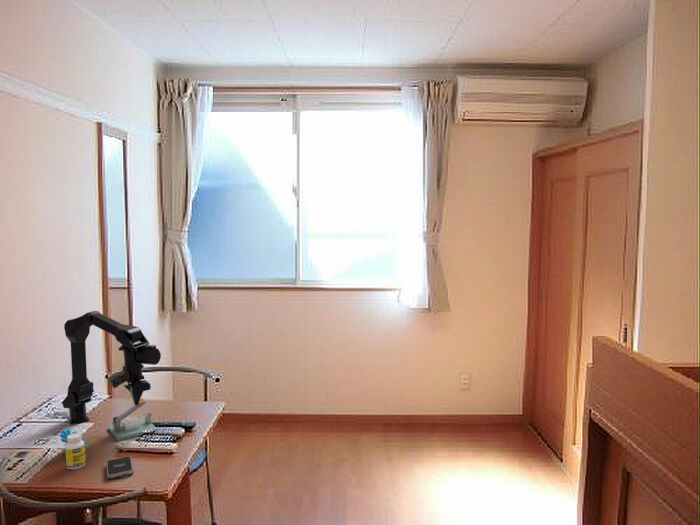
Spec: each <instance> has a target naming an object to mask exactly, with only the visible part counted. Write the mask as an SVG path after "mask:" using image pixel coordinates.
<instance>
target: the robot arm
mask: <svg viewBox="0 0 700 525" xmlns="http://www.w3.org/2000/svg"><path fill="white" fill-rule="evenodd" d="M92 326H94V327H96V328H98V329H100V330H102V331H104V332H106V333H108V334H110V335H113V337H114V338H115V340H116V341H117V343H120V344H121V346H120V347H118V351H121V352H122V351H123V361H124V365H123V366H122V370H119V371H118V372H115V373H114V374H112V375H111V376H110V375H109V377H107V379H108V382H109V383H110V386H111V387H112V388H113V389H116V388H118V387H119V386H121V385H123V384H124V383H126V384H125V385H123V386H124V388H125V389H127V391H129V393H130V396H131V398H132V402H133V404H134V405H133V406H135V405H138V403H139V402H140V399H141V398H142V395H143V393H144V392H145V391H150V390H151V383H150V382H148V381H147V379H145V376H144V375H143V368H144V365H154V366H155V365H158V364H159V363H160V361H161V357H162V353H161V351H160V349H158V348H157V345H156V344H150V342H149V340H148V339H147V337H146V336H145V334H144V333H143V331H142V328H140V327H139V326H137V325H136V326H135V325H131V324H123V323H120V322H119V321H117V320H114V319H113V318H110V317H108V316H107V315H104V314H102V313H101V312H100V311H98V310H93V311H89V312H86V313H84V314H82V315H80V316H78V317H75V318H71V319H68V320H67V321H65V323H64V327H63V328H64V333H65V334H64V335H65V337H66V338H67V340H68V341H69V342H70V355H71V356H70V357H71V358H70V359H71V381H70V382H69V383H70V384H69V385H68V387H67V395H66V397H65V398H64V399H63V400H62V402H61V404H62V407H63V408H64V409H68V411H69V417H68V418H67V421H68V420H69V421H68V423H69V422H70V423H69V425H74V424H73V423H75V424H80V423H83V422H88V421H90V418H89V416H88V415H87V403H90V402H91V400H92V397H93V395H94V394H93V393H94V392H95V390H94V382H93V381H90V379H89V378H88V375H87V373H88V371H87V353H86V352H87V348H86V340H87V338H88V337H89V334H90V329H91V327H92Z"/></svg>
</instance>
